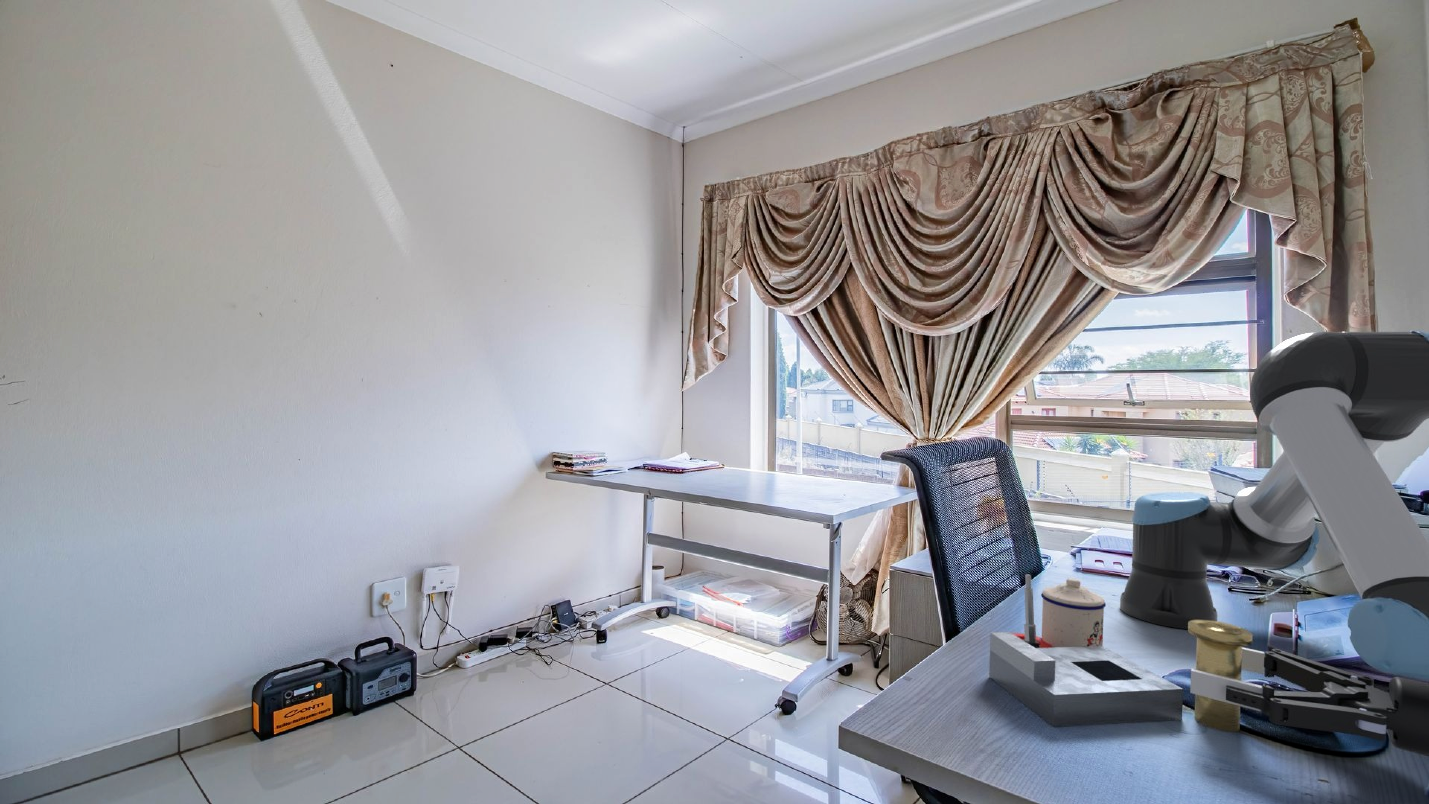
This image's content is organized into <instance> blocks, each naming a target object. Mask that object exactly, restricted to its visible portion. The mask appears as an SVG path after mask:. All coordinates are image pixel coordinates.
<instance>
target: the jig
mask: <svg viewBox="0 0 1429 804" xmlns="http://www.w3.org/2000/svg"><path fill="white" fill-rule="evenodd" d="M1012 633H1013V632H1010V631H1000V632H999V631H998V632H990V634H989V635H990V638H989V639H990V640H989V644H990V645H989V674H988V676H989V678H990V679H991V680H992V679H993V680H992V681H994V683H996V684H998V686H1000V687H1002V688H1003V690H1005V691H1007V692H1008V693H1009V694H1010V695H1012V696H1013V697H1015V698H1016V699H1017V700H1018V701H1020V702H1021V703H1022V704H1023V705H1024V706H1026V707H1027V708H1028V709H1030V710H1031V711H1032V712H1034V713H1035V714H1036V715H1037V716H1039V717H1040V718H1041V719H1042V720H1043V721H1045V722H1047V723H1048V724H1049V725H1050V726H1051V727H1053V728H1057V727H1061V728H1062V727H1076V726H1077V727H1078V726H1093V725H1094V726H1096V725H1112V724H1113V725H1114V724H1116V725H1117V724H1131V723H1150V722H1167V721H1169V722H1170V721H1183V705H1184V704H1183V701H1184V699H1183V698H1184V696H1183V695H1184V688H1182V687H1180V685H1179V686H1178V685H1176V684H1175V683H1173V682H1171V681H1169V680H1167V679H1165V678H1163V677H1161V676H1159V675H1158V674H1156V673H1154V672H1152V671H1151V670H1148V669H1146V668H1144V667H1143V666H1140V665H1139V664H1137V663H1135V662H1133V661H1131V660H1130V659H1128V658H1125V657H1124V656H1122V655H1120V654H1119V653H1116V652H1115V651H1112V650H1110V649H1108V648H1107V647H1105V646H1104V645H1103V646H1081V647H1053V648H1035V647H1033V646H1031V645H1030V644H1028V643H1027V642H1025V641H1023V640H1022V639H1020V638H1018V637H1017V636H1015V635H1014V634H1012Z"/></svg>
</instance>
